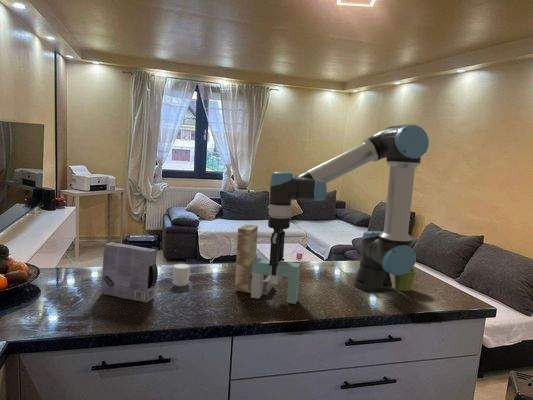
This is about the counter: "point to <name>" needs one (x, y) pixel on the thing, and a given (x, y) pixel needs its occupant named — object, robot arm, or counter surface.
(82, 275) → the counter surface
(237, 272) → the post
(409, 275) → the plant pot
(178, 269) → the white cylinder
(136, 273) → the cake pan box
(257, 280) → the rail
